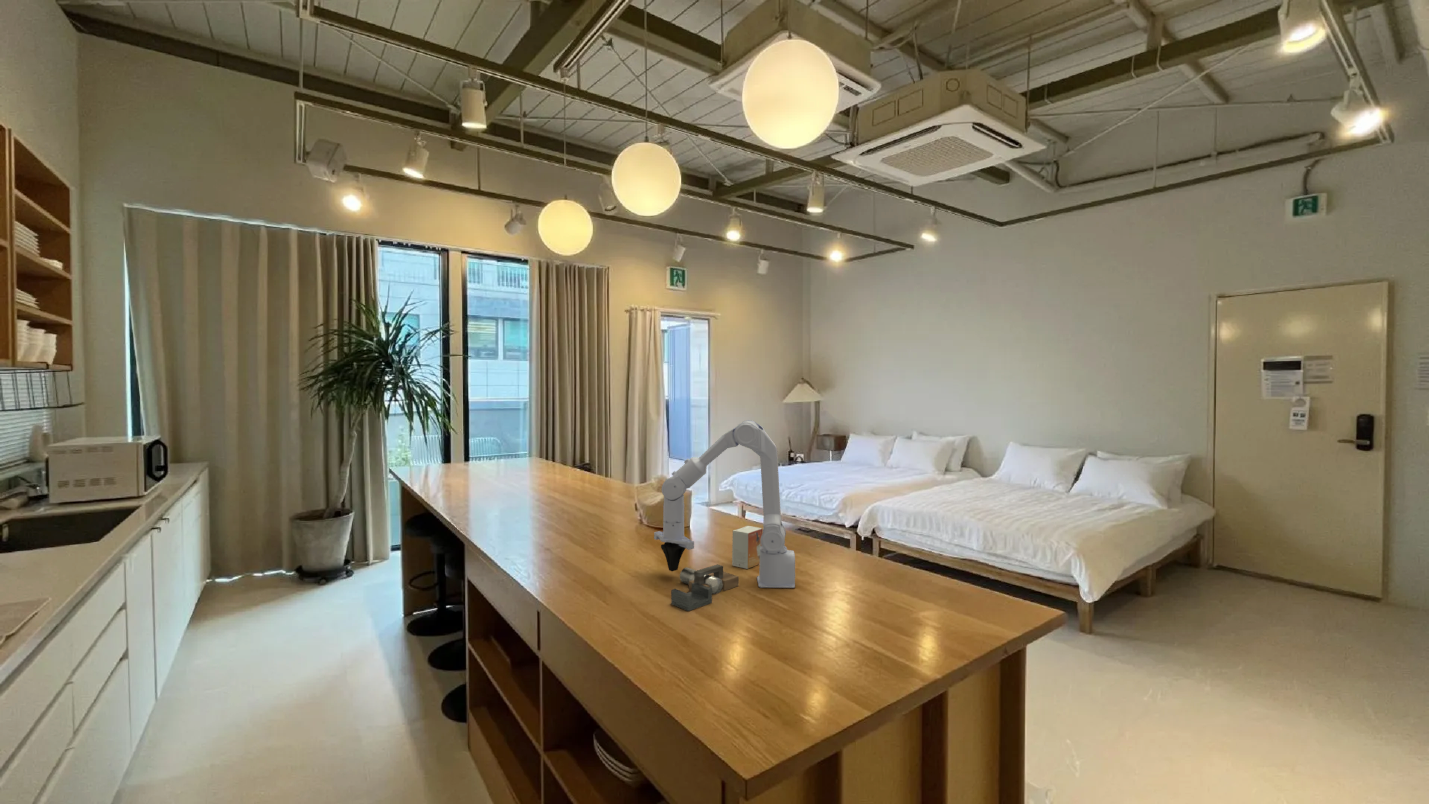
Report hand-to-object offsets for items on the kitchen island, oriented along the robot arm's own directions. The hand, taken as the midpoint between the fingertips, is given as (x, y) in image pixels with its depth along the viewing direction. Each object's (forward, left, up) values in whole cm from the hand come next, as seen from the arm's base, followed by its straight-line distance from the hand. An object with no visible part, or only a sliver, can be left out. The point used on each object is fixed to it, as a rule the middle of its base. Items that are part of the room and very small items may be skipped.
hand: (673, 570), depth 162 cm
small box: (-21, -12, -2) cm, 24 cm away
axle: (-8, +8, -2) cm, 11 cm away
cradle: (-6, +19, -2) cm, 20 cm away
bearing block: (-11, +9, -2) cm, 14 cm away
